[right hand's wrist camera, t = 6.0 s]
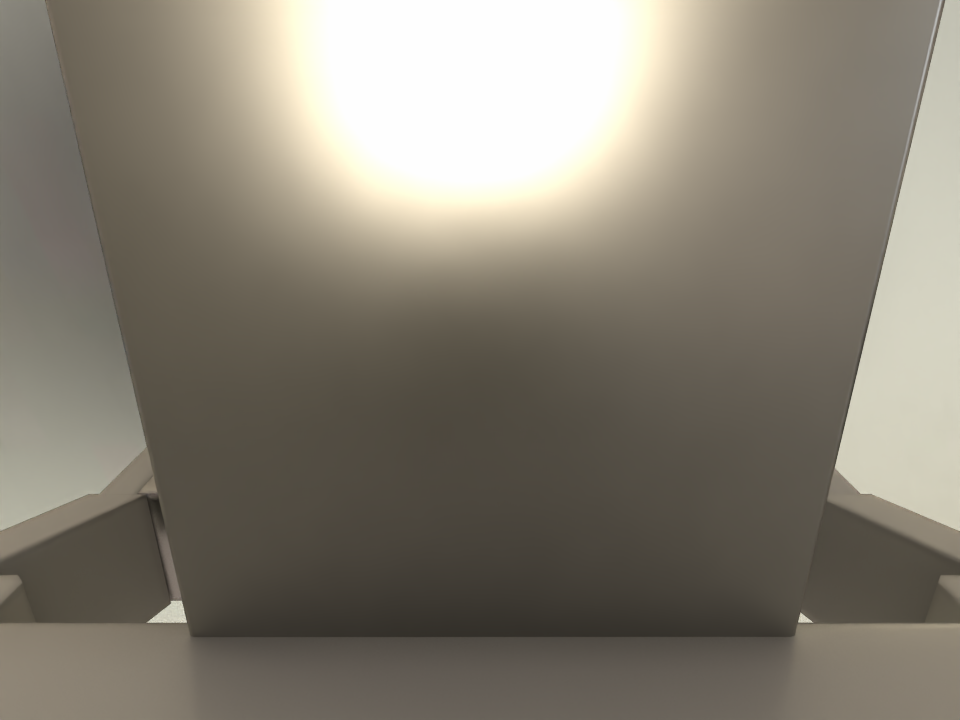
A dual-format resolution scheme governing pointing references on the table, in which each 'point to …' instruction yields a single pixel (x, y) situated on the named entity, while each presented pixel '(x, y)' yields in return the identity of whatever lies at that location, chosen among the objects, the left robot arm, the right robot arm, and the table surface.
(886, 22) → the bar
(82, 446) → the table surface
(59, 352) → the table surface
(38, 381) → the table surface
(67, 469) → the table surface
